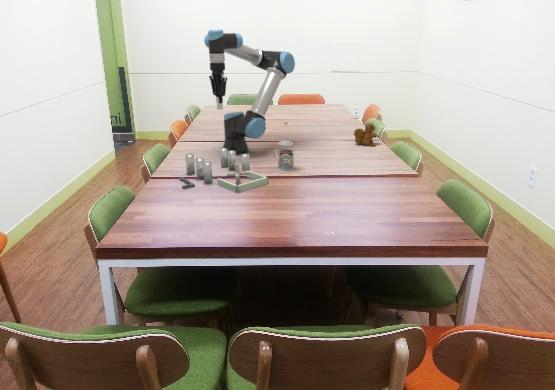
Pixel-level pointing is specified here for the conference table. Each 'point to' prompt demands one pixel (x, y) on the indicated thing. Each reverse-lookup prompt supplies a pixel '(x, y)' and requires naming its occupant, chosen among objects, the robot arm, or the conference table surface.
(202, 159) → the set of silver pegs
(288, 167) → the french press
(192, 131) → the conference table surface
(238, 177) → the beige rod cross
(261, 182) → the corral
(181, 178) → the hook bar
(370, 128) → the stuffed squirrel
